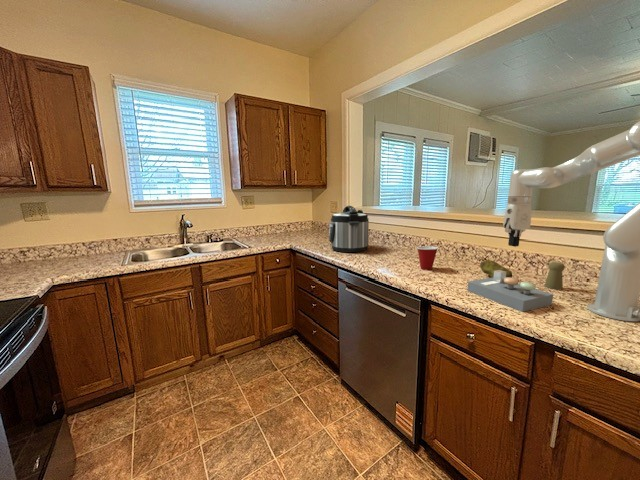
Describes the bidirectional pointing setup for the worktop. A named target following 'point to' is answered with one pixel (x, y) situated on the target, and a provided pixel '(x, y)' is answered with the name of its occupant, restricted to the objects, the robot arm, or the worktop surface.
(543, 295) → the panel
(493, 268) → the potato
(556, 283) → the cork
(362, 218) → the pressure cooker
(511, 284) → the peach knob
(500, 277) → the slider knob
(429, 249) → the plastic cup
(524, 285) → the sage button
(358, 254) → the worktop surface
